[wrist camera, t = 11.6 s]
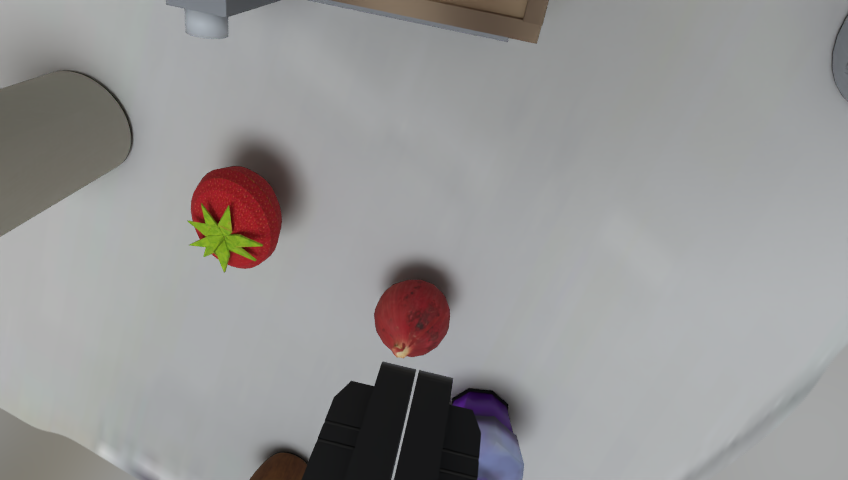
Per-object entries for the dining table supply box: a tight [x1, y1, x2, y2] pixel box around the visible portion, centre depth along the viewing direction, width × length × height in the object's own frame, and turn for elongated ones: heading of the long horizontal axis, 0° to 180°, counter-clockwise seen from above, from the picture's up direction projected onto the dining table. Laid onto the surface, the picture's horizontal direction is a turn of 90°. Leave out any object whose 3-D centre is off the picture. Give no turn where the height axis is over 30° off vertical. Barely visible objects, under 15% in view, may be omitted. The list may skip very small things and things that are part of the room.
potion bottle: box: [452, 388, 524, 480], centre depth 47 cm, size 9×9×12 cm
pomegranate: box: [374, 280, 450, 358], centre depth 42 cm, size 6×6×8 cm
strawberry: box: [188, 166, 282, 272], centre depth 39 cm, size 6×8×10 cm
